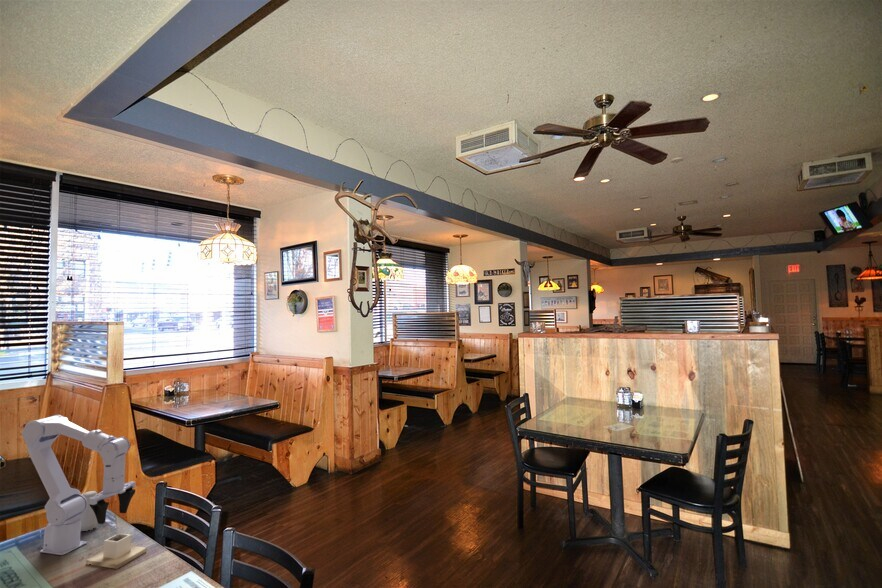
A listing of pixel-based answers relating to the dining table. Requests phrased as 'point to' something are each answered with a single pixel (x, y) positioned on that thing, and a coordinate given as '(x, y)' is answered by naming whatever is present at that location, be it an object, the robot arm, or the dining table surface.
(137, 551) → the roll holder
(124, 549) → the hollow square tube
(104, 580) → the dining table surface
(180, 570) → the dining table surface
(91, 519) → the salt shaker
